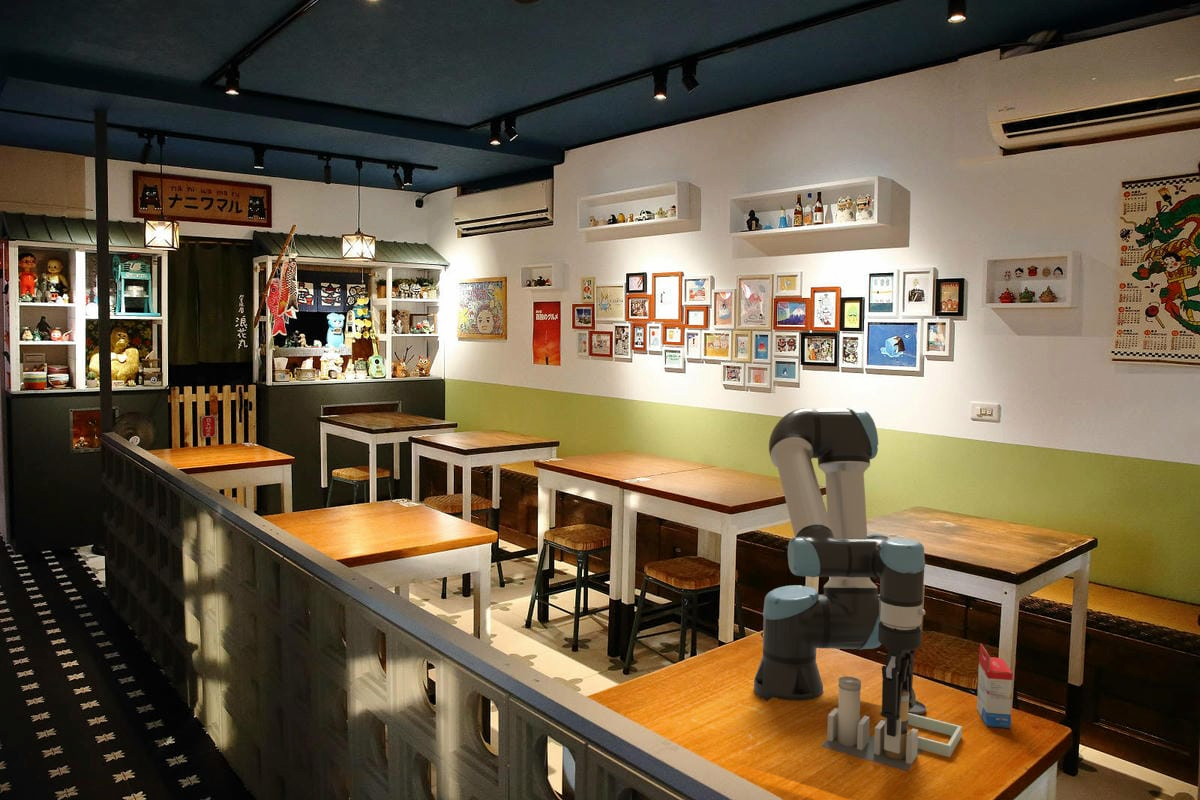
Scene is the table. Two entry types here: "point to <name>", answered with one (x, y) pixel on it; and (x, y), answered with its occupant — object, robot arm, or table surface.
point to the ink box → (994, 690)
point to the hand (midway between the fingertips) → (895, 745)
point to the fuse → (848, 710)
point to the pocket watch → (916, 705)
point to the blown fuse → (902, 727)
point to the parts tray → (937, 727)
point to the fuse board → (871, 743)
